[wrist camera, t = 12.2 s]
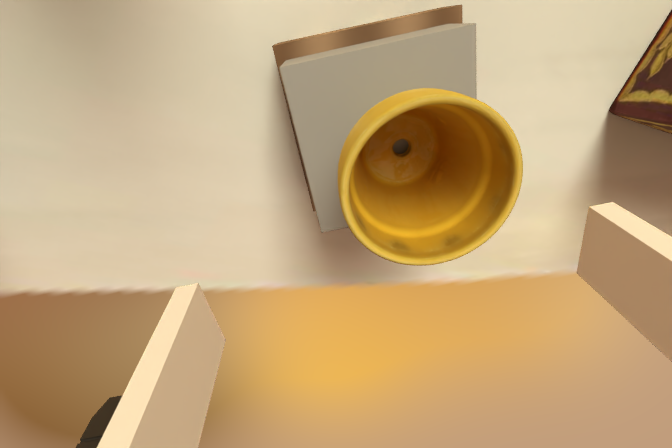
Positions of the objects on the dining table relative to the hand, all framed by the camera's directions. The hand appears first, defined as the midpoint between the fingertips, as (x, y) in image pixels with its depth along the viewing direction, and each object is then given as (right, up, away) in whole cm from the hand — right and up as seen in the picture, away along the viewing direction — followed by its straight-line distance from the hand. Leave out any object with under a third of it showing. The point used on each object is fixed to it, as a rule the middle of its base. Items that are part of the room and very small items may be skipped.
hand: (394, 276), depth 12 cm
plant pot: (+3, +8, +17) cm, 19 cm away
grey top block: (+2, +11, +22) cm, 24 cm away
